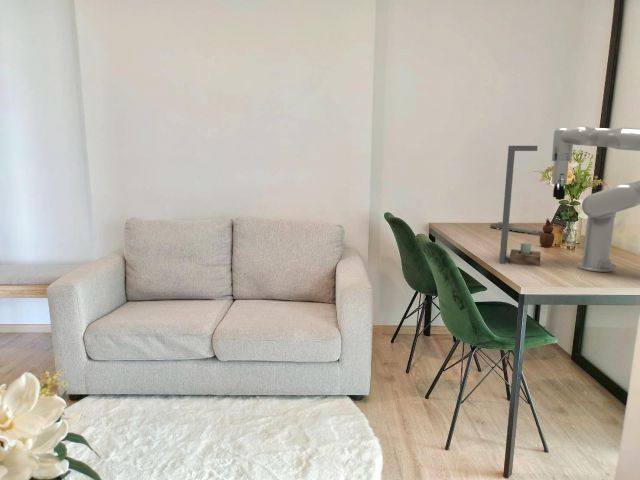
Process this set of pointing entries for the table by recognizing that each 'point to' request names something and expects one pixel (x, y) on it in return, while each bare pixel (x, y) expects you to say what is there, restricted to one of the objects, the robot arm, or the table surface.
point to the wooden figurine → (547, 235)
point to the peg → (525, 248)
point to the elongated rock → (517, 228)
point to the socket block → (525, 258)
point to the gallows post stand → (509, 196)
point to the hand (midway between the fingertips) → (558, 198)
